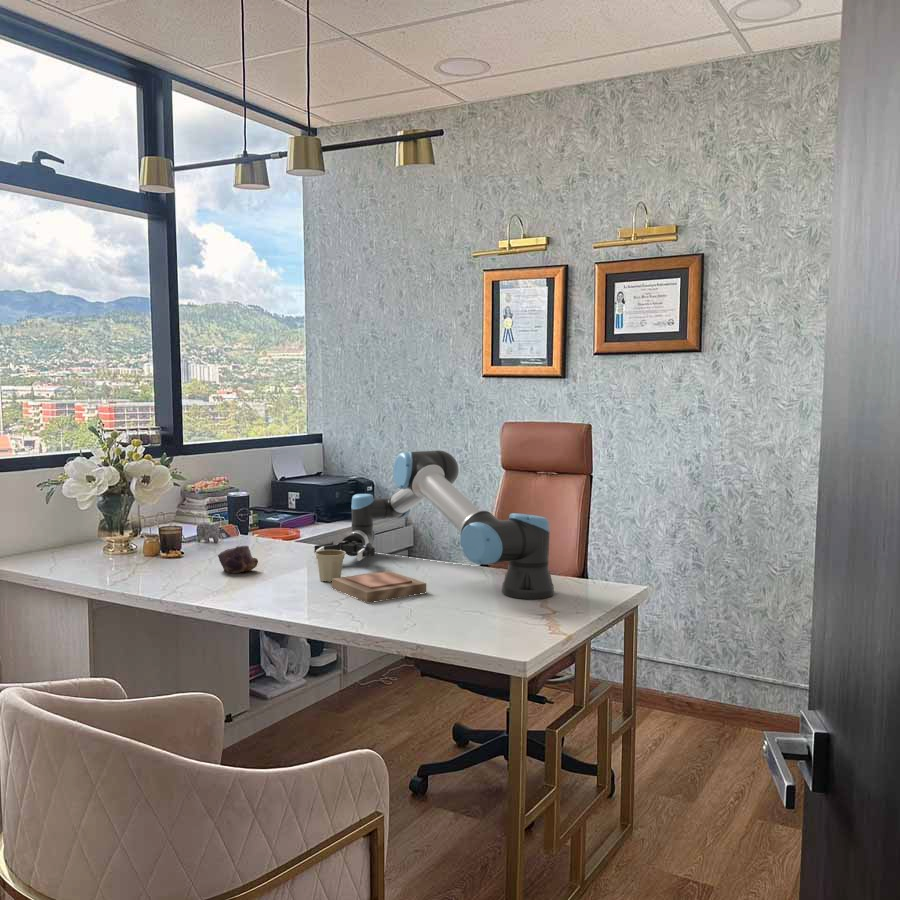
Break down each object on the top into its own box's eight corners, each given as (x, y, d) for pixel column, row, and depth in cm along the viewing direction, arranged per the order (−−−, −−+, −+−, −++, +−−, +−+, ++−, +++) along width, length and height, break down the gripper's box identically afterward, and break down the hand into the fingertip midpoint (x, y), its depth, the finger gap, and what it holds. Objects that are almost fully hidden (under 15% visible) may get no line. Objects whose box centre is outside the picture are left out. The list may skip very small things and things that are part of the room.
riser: (388, 580, 259) (389, 569, 258) (426, 593, 243) (426, 581, 243) (331, 588, 247) (331, 576, 247) (366, 603, 231) (367, 590, 231)
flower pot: (329, 575, 264) (329, 548, 264) (351, 579, 259) (352, 552, 258) (308, 580, 256) (308, 552, 256) (331, 585, 251) (331, 556, 251)
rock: (232, 571, 273) (212, 576, 264) (228, 545, 273) (209, 549, 264) (262, 569, 269) (243, 574, 260) (258, 542, 269) (239, 547, 260)
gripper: (390, 555, 286) (376, 568, 265) (319, 552, 289) (299, 565, 268) (390, 534, 285) (376, 545, 264) (319, 531, 289) (300, 542, 268)
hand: (337, 555), depth 266 cm, fingers open, 13 cm apart
